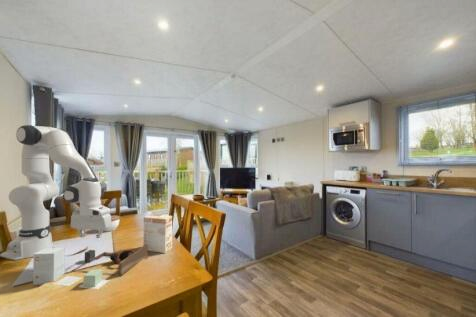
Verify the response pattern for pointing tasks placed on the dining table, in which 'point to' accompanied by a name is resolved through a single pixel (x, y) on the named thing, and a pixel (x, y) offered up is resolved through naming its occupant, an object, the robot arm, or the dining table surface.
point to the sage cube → (93, 278)
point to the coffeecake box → (158, 233)
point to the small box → (48, 265)
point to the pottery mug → (120, 256)
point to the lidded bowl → (113, 223)
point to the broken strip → (71, 280)
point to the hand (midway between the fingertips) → (90, 237)
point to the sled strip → (123, 265)
